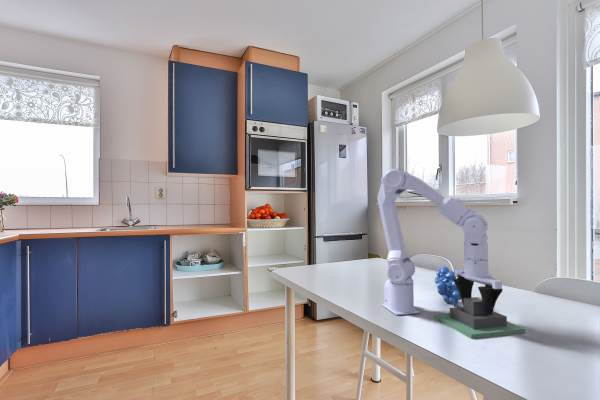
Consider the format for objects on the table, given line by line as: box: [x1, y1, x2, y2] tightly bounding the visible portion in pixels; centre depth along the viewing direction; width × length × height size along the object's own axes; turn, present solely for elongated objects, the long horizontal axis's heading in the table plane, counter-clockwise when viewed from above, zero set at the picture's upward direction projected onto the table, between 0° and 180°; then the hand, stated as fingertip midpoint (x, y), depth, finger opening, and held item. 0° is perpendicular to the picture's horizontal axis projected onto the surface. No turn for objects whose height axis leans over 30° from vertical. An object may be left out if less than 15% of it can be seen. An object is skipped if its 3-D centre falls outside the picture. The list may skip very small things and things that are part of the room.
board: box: [434, 306, 526, 339], centre depth 82 cm, size 14×16×4 cm
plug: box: [463, 296, 489, 316], centre depth 82 cm, size 4×5×7 cm
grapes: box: [434, 265, 462, 306], centre depth 101 cm, size 12×7×12 cm, turn 14°
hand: (476, 308), depth 82 cm, fingers open, 7 cm apart
